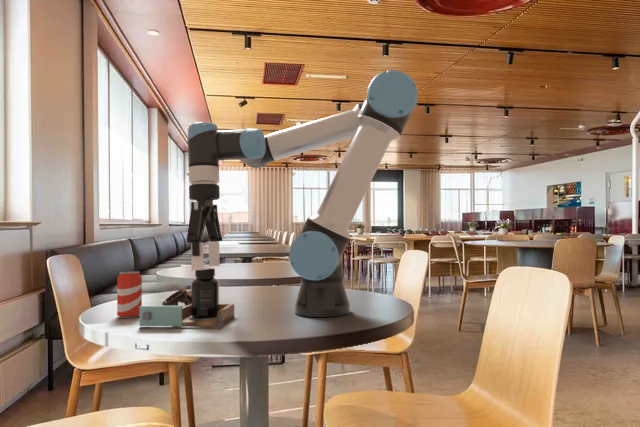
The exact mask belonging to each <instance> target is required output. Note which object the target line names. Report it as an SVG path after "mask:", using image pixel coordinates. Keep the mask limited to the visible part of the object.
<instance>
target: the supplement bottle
mask: <svg viewBox="0 0 640 427" xmlns="http://www.w3.org/2000/svg"><path fill="white" fill-rule="evenodd" d="M194 271H195V274H194V276H195V279H194V280H192V282H191V284H190V285H191V286H190V288H191V289H190V291H191V315H192V317H193V318H212V317H216V316H218V311H219V304H220V283H219V280H218V279H216V278H215V276H216V272H215V271H216V269H215V267H213V268H212V267H211V268H207V267H206V268H205V267H204V270H194Z"/></svg>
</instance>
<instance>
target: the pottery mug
mask: <svg viewBox="0 0 640 427" xmlns="http://www.w3.org/2000/svg"><path fill="white" fill-rule="evenodd" d="M179 303H180V304H181V303H182V304H184V305H185V306H186V305H189V304H191V290H188V291H187V289H186V288H182V289H179V290H177V291H175V292H174V293H172V294H170V295H169V296H168V297H167V298H165V300H164V301H163V302H161V306H179Z"/></svg>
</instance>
